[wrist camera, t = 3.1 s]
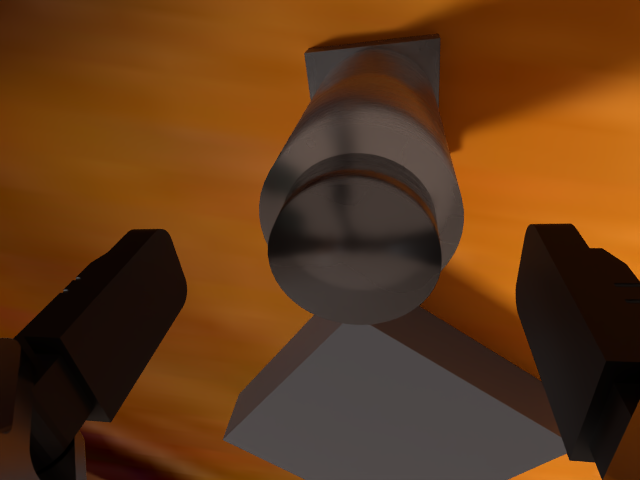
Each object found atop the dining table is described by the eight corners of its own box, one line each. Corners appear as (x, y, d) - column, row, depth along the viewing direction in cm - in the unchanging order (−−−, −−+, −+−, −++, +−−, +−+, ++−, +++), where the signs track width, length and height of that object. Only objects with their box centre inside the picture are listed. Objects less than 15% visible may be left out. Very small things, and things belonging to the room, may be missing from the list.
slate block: (358, 263, 23) (352, 314, 20) (556, 385, 26) (579, 447, 23) (241, 388, 31) (222, 439, 28) (401, 471, 34) (402, 526, 31)
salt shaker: (438, 33, 16) (490, 138, 7) (435, 157, 19) (470, 348, 10) (309, 48, 17) (208, 157, 8) (324, 164, 20) (261, 343, 11)
